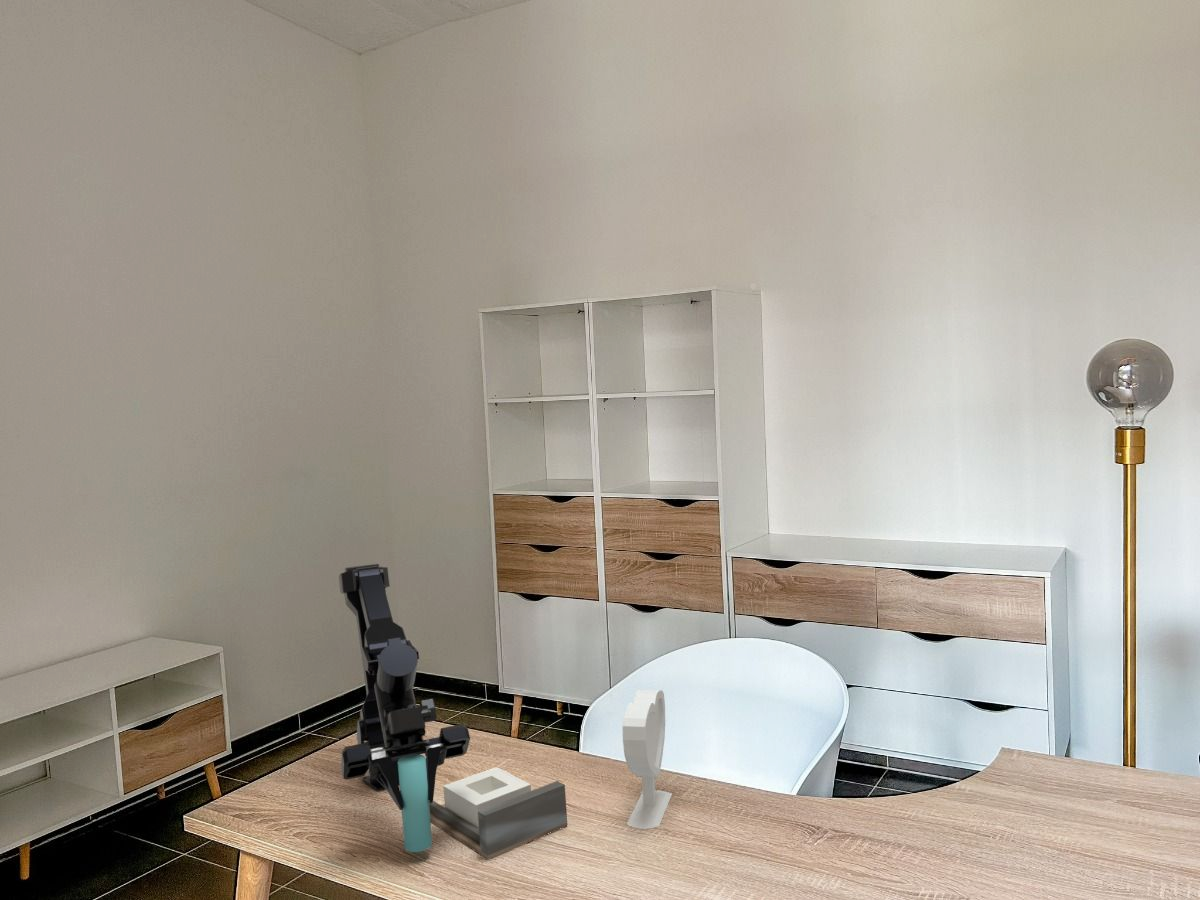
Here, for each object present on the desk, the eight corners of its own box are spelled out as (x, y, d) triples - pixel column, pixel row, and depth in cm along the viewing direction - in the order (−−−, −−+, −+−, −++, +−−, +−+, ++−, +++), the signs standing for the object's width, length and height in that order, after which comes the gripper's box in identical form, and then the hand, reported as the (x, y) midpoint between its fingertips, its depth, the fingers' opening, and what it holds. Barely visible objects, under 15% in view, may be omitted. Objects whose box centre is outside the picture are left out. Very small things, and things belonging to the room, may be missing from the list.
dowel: (399, 845, 142) (392, 760, 140) (423, 836, 144) (417, 751, 143) (412, 854, 138) (405, 767, 137) (437, 845, 141) (430, 759, 140)
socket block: (445, 814, 153) (443, 785, 153) (498, 794, 159) (496, 766, 159) (478, 835, 145) (476, 805, 145) (532, 813, 152) (530, 784, 151)
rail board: (422, 815, 155) (418, 776, 154) (497, 787, 164) (494, 750, 163) (488, 859, 139) (485, 815, 139) (567, 826, 148) (564, 784, 148)
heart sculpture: (656, 832, 144) (649, 716, 143) (623, 830, 145) (616, 715, 144) (674, 788, 159) (668, 682, 158) (644, 787, 160) (638, 681, 159)
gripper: (337, 694, 140) (353, 797, 130) (462, 672, 146) (486, 768, 137) (335, 729, 148) (350, 828, 138) (454, 707, 154) (476, 800, 145)
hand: (416, 805), depth 139 cm, fingers closed on dowel, 4 cm apart
